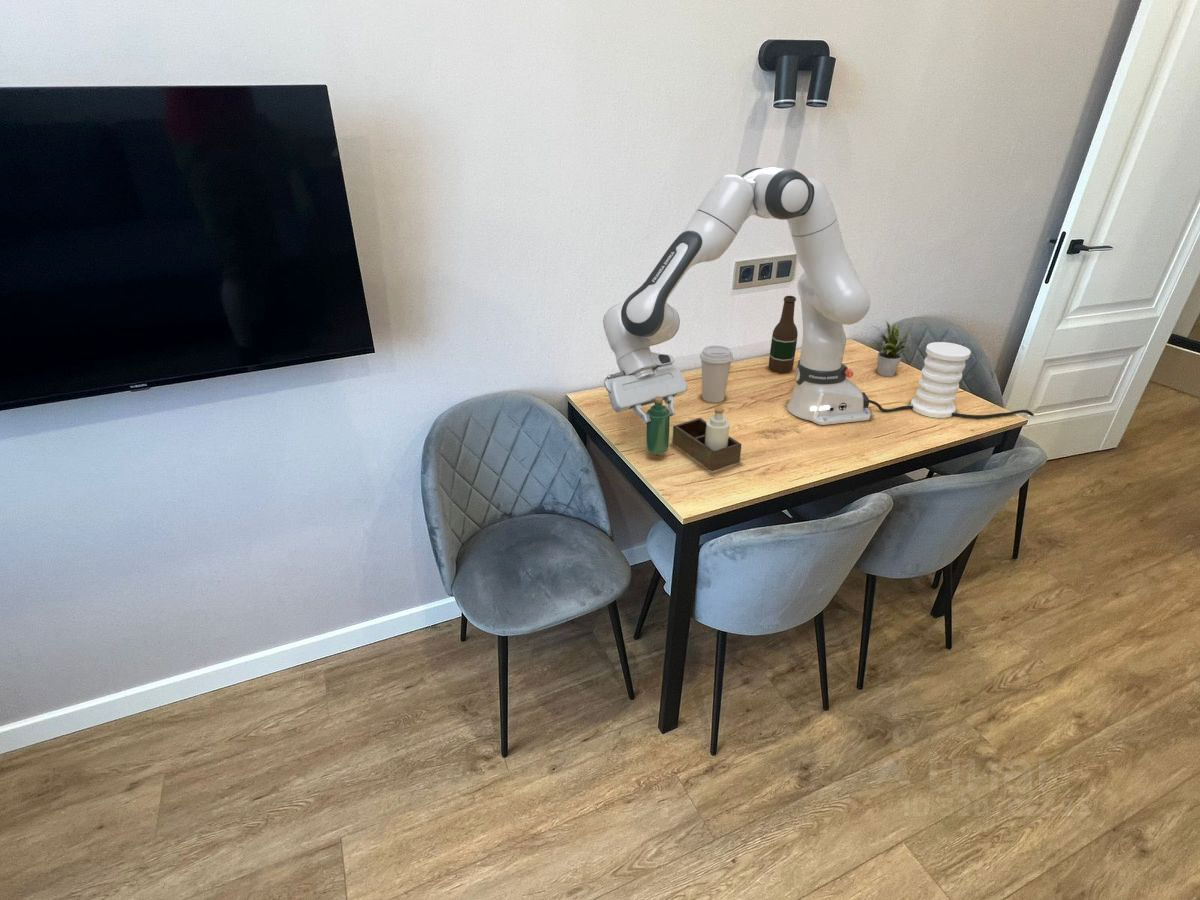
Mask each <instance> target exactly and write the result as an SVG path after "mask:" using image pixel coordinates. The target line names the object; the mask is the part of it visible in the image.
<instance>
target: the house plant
mask: <svg viewBox="0 0 1200 900" xmlns="http://www.w3.org/2000/svg"><path fill="white" fill-rule="evenodd" d="M885 323H886V326H887V327H886V328H887V336H888V337H886V335H884V334H883V333H882V331H880V329H878V327H877V326H874V325H872V327H873V328H875V330H876V331H879V334H880V337H881V338H882V341H883V342H884V344H882V343H880V342H877V341H876V340H874V339H872V338H870V340H871V341H873V343H871V346H876V345H877V346H878V347H879V348H880V351H879V352H878V353H877V368H876V369H877V370H876V372H877V374H878V375H880V376H884V377H893V376H895V374H896V372H897V369H898V367H899V365H900V363H901V361H902V358H903V355H902V354H901V353H903V352H905V351H906V352H907V351H909V352H911V349H907V347H906V346H904V345H903V344H905V343H906V342H908V340H906V339H907V337H908V336H909V335H910V334H911V333H912V330H911V331H910V332H908V334H906V335H905V336H904V337H903V338H902V339H901V340H900V341H899V335H900V327H899V326H898V325H897V324H896V323H894V324H893V325H892V327H891V325H890V323H889V322H888V321H887V320H885ZM891 328H892V329H891ZM915 336H916V337H917V336H918V334H914V335H910V336H909V337H908V339H910V338H911V337H915ZM898 341H899V343H898ZM903 349H904V350H903Z"/></svg>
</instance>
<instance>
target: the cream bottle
mask: <svg viewBox="0 0 1200 900" xmlns="http://www.w3.org/2000/svg"><path fill="white" fill-rule="evenodd" d="M724 410H725V408H723V407H722V406H715V407H714V415H712V416H711V417H709V418H708V419H707V420H706V432H705V445H706V446H707V447H709V448H710V449H712V450H713V451H716V450H719V449H722V448H725V447H728V438H729V436H730V427H731V423H730V421H729V420H728V419H727V417H726V416H724Z"/></svg>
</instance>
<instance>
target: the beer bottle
mask: <svg viewBox="0 0 1200 900" xmlns="http://www.w3.org/2000/svg"><path fill="white" fill-rule="evenodd" d="M782 301H783V305H782V310H781V315H780V320H779V322H778V323H777V324H776V325H775V326H774V329H773V330H772V335H771V341H770V351H769V358H768V369H769V370H770V371H771V372H772V373H775V374H780V375H781V374H789V373H791V371H793V369H794V363H795V358H796V350H797V343H798V334H799V332H798V328H797V326H796V324H795V318H794V317H795V305H796V301H797V298H796V297H795V296H793V295H786V296H784V297H783V300H782Z"/></svg>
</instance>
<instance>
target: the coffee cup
mask: <svg viewBox="0 0 1200 900" xmlns="http://www.w3.org/2000/svg"><path fill="white" fill-rule="evenodd" d="M699 359H700V360H701V361H700V363H701V394H702V395H701V397H702V400H703V401H705V402H707V403H715V404H716V403H721V402H723V401H724V400H725V397H726V391H727V385H728V382H729V381H728V380H729V375H730V370H731V365H732V361H733V360H734V355H733V353H732V350H731V348H730V347H727V346H724V345H708V346H705V347H704V348H703V349H702V351H701V352H700V354H699Z"/></svg>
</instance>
